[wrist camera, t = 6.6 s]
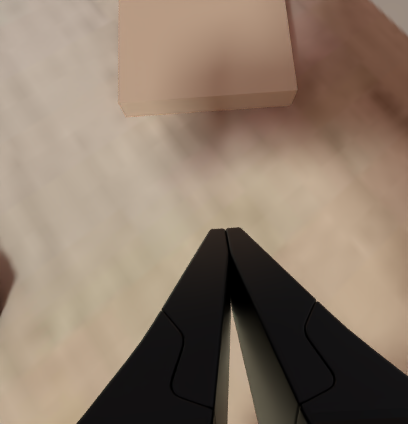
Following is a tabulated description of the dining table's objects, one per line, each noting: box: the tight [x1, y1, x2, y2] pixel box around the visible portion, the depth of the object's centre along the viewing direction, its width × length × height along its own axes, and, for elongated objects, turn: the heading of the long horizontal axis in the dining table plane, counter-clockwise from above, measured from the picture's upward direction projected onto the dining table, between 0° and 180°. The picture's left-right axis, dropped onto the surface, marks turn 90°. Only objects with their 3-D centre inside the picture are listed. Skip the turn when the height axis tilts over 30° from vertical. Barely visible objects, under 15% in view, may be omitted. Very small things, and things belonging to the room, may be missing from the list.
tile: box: [118, 0, 298, 117], centre depth 23 cm, size 2×12×12 cm
